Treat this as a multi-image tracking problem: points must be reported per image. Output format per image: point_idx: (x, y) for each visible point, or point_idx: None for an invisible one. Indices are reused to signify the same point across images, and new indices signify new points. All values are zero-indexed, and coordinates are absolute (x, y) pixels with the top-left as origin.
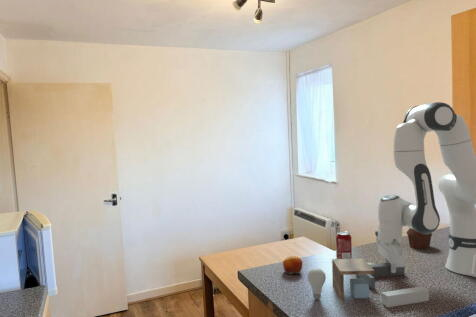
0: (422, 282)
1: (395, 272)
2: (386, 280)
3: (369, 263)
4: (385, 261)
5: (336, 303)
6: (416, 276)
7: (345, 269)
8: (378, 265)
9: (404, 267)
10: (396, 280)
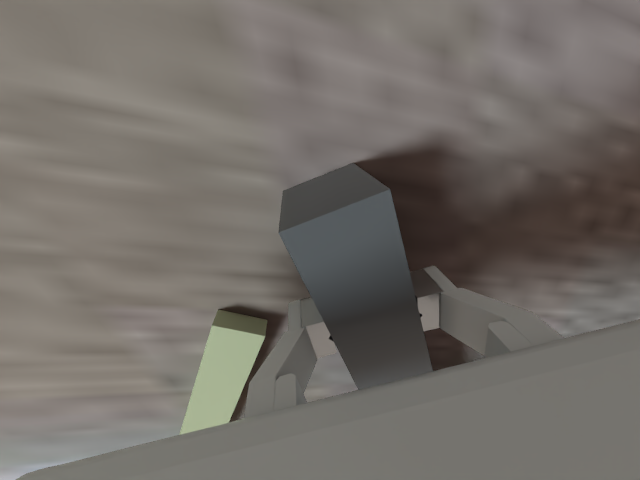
0: (568, 3)
1: (434, 266)
2: None
3: (208, 400)
4: (308, 379)
5: None
6: (397, 30)
7: None
8: None
9: (375, 179)
10: (478, 245)
